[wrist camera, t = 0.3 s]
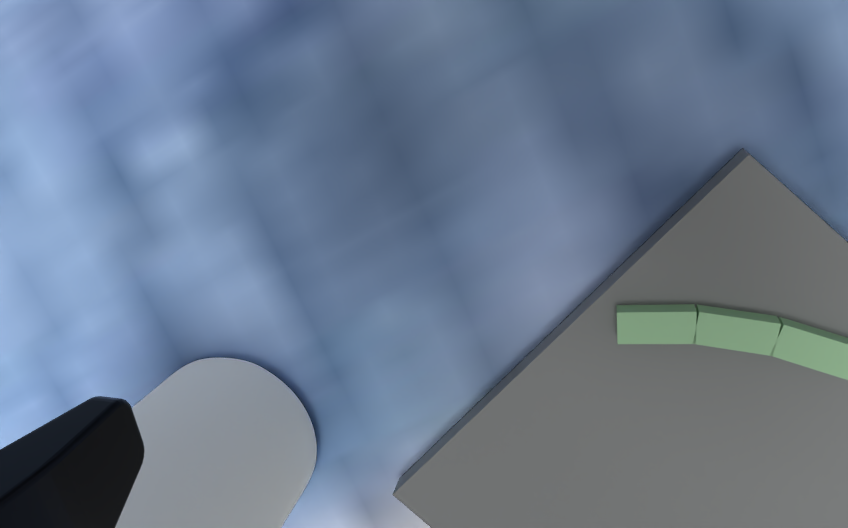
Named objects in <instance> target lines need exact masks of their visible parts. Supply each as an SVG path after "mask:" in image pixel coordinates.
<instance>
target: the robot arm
mask: <svg viewBox="0 0 848 528" xmlns="http://www.w3.org/2000/svg"><path fill="white" fill-rule="evenodd" d="M143 459H144V443H143V440H142V437H141V434H140V431H139V428H138V425H137V422H136V419H135V416H134V413H133V410H132V408H131V406H130V404H129V403H128V402H127V401H126V400H123V399H119V398H111V397H102V396H98V397H93V398H91V399H89V400H87V401H85V402H83V403H82V404H80V405H78V406H76V407H74V408H73V409H71V410H69V411H67V412H66V413H64V414H62V415H60V416H59V417H57V418H55V419H53V420H52V421H50V422H48V423H46V424H45V425H43V426H41V427H39V428H38V429H36V430H34V431H32V432H31V433H29V434H27V435H25V436H23V437H22V438H20V439H18V440H16V441H15V442H13V443H11V444H9V445H8V446H6V447H4V448H2V449H1V450H0V528H115V527H116V525H117V522H118V520H119V518H120V515H121V513H122V511H123V508H124V506H125V504H126V501H127V499H128V496H129V494H130V492H131V489H132V487H133V485H134V482H135V480H136V478H137V475H138V473H139V471H140V468H141V466H142V463H143Z"/></svg>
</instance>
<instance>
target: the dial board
mask: <svg viewBox="0 0 848 528" xmlns="http://www.w3.org/2000/svg"><path fill="white" fill-rule="evenodd" d="M393 496H395V497H396V498H397V499H398V500H399V501H400V502H402V503H403V504H404V505H405V506H406V507H408V508H409V509H410V510H411V511H412V512H413V513H415V514H416V515H417V516H418V517H419V518H421V519H422V520H423V521H424V522H425V523H426V524H428V525H429V526H430V527H431V528H848V242H847V241H846V240H845V239H844V238H843V237H841V236H840V235H839V234H838V233H837V232H836V231H835V230H834V229H832V228H831V227H830V226H829V225H828V224H827V223H826V222H825V221H824V220H822V219H821V218H820V217H819V216H818V215H817V214H816V213H815V212H814V211H812V210H811V209H810V208H809V207H808V206H807V205H806V204H805V203H803V202H802V201H801V200H800V199H799V198H798V197H797V196H796V195H795V194H793V193H792V192H791V191H790V190H789V189H788V188H787V187H786V186H785V185H783V184H782V183H781V182H780V181H779V180H778V179H777V178H776V177H774V176H773V175H772V174H771V173H770V172H769V171H768V170H767V169H766V168H764V167H763V166H762V165H761V164H760V163H759V162H758V161H757V160H756V159H754V158H753V157H752V156H751V155H750V154H749V153H748V152H747V151H745V150H744V149H743V148H742V149H741V150H740V151H739V152H738V153H737V154H736V155H735V156H734V157H733V158H732V159H731V160H730V161H729V162H728V163H727V164H726V165H725V166H724V167H723V168H722V169H721V170H720V171H719V172H718V173H716V174H715V175H714V176H713V177H712V178H711V179H710V180H709V181H708V182H707V183H706V184H705V185H704V186H703V187H702V188H701V189H700V190H699V191H698V192H697V193H696V194H695V195H694V196H693V197H692V198H691V199H689V200H688V201H687V202H686V203H685V204H684V205H683V206H682V207H681V208H680V209H679V210H678V211H677V212H676V213H675V214H674V215H673V216H672V217H671V218H670V219H669V220H668V221H667V222H666V223H665V224H663V225H662V226H661V227H660V228H659V229H658V230H657V231H656V232H655V233H654V234H653V235H652V236H651V237H650V238H649V239H648V240H647V241H646V242H645V243H644V244H643V245H642V246H641V247H640V248H639V249H638V250H636V251H635V252H634V253H633V254H632V255H631V256H630V257H629V258H628V259H627V260H626V261H625V262H624V263H623V264H622V265H621V266H620V267H619V268H618V269H617V270H616V271H615V272H614V273H613V274H612V275H610V276H609V277H608V278H607V279H606V280H605V281H604V282H603V283H602V284H601V285H600V286H599V287H598V288H597V289H596V290H595V291H594V292H593V293H592V294H591V295H590V296H589V297H588V298H587V299H586V300H585V301H583V302H582V303H581V304H580V305H579V306H578V307H577V308H576V309H575V310H574V311H573V312H572V313H571V314H570V315H569V316H568V317H567V318H566V319H565V320H564V321H563V322H562V323H561V324H560V325H559V326H558V327H556V328H555V329H554V330H553V331H552V332H551V333H550V334H549V335H548V336H547V337H546V338H545V339H544V340H543V341H542V342H541V343H540V344H539V345H538V346H537V347H536V348H535V349H534V350H533V351H532V352H530V353H529V354H528V355H527V356H526V357H525V358H524V359H523V360H522V361H521V362H520V363H519V364H518V365H517V366H516V367H515V368H514V369H513V370H512V371H511V372H510V373H509V374H508V375H507V376H506V377H505V378H503V379H502V380H501V381H500V382H499V383H498V384H497V385H496V386H495V387H494V388H493V389H492V390H491V391H490V392H489V393H488V394H487V395H486V396H485V397H484V398H483V399H482V400H481V401H480V402H479V403H477V404H476V405H475V406H474V407H473V408H472V409H471V410H470V411H469V412H468V413H467V414H466V415H465V416H464V417H463V418H462V419H461V420H460V421H459V422H458V423H457V424H456V425H455V426H454V427H453V428H452V429H450V430H449V431H448V432H447V433H446V434H445V435H444V436H443V437H442V438H441V439H440V440H439V441H438V442H437V443H436V444H435V445H434V446H433V447H432V448H431V449H430V450H429V451H428V452H427V453H426V454H424V455H423V456H422V457H421V458H420V459H419V460H418V461H417V462H416V463H415V464H414V465H413V466H412V467H411V468H410V469H409V470H408V471H407V472H406V473H405V474H404V475H403V476H402V477H401V478H400V479H399V481H398V483H397V486H396V488H395V490H394V493H393Z"/></svg>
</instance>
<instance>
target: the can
mask: <svg viewBox="0 0 848 528" xmlns="http://www.w3.org/2000/svg"><path fill="white" fill-rule="evenodd" d="M132 410H133V413H134V416H135V419H136V422H137V425H138V428H139V431H140V434H141V437H142V440H143V443H144V459H143V463H142V466H141V468H140V471H139V473H138V475H137V478H136V480H135V482H134V485H133V487H132V489H131V492H130V494H129V496H128V499H127V501H126V504H125V506H124V508H123V511H122V513H121V515H120V518H119V520H118V522H117V525H116V527H115V528H281V527H282V526H283V524H284V522H285V521H286V519H287V517H288V516H289V514H290V513H291V511H292V509H293V508H294V506H295V504H296V503H297V501H298V499H299V498H300V496H301V494H302V493H303V491H304V489H305V488H306V486H307V484H308V482H309V480H310V478H311V476H312V474H313V471H314V468H315V464H316V457H317V443H316V436H315V432H314V428H313V425H312V422H311V420H310V417H309V415H308V413H307V411H306V409H305V408H304V406H303V404H302V403H301V402H300V400H299V399H298V397H297V396H296V395H295V394H294V393H293V391H292V390H291V389H290V388H289V387H288V386H287V385H286V384H285V383H283V382H282V381H281V380H280V379H279V378H277V377H276V376H275V375H273V374H272V373H270V372H269V371H267V370H266V369H264V368H262V367H260V366H258V365H256V364H254V363H251V362H248V361H244V360H240V359H234V358H206V359H200V360H197V361H194V362H191V363H189V364H187V365H185V366H184V367H182V368H180V369H179V370H177V371H176V372H175V373H173V374H172V375H171V376H170V377H168V378H167V379H166V380H165V381H164V382H162V383H161V384H160V385H159V386H157V387H156V388H155V389H154V390H153V391H151V392H150V393H149V394H148V395H147V396H145V397H144V398H143V399H142V400H141V401H139V402H138V403H137V404H136V405H135V406H133V407H132Z"/></svg>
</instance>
